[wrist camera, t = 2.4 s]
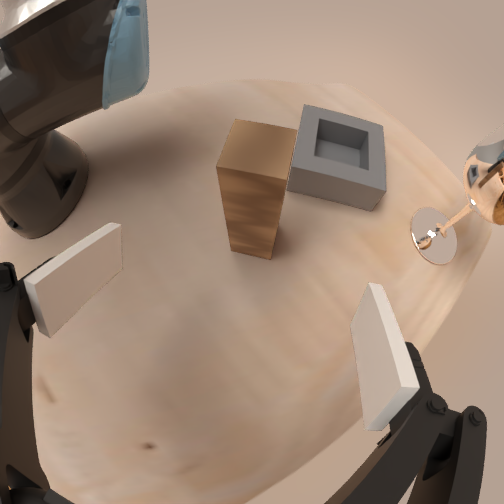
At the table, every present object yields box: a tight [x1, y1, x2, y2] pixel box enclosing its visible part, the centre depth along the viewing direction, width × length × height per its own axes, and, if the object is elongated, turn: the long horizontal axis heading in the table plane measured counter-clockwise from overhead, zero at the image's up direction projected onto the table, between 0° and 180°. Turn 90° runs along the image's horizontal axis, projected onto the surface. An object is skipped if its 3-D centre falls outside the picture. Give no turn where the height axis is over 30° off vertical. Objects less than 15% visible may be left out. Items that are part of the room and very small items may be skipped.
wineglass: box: [411, 124, 504, 265], centre depth 20 cm, size 8×8×20 cm
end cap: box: [287, 104, 386, 211], centre depth 30 cm, size 10×10×4 cm
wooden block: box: [216, 119, 297, 260], centre depth 22 cm, size 4×4×14 cm
